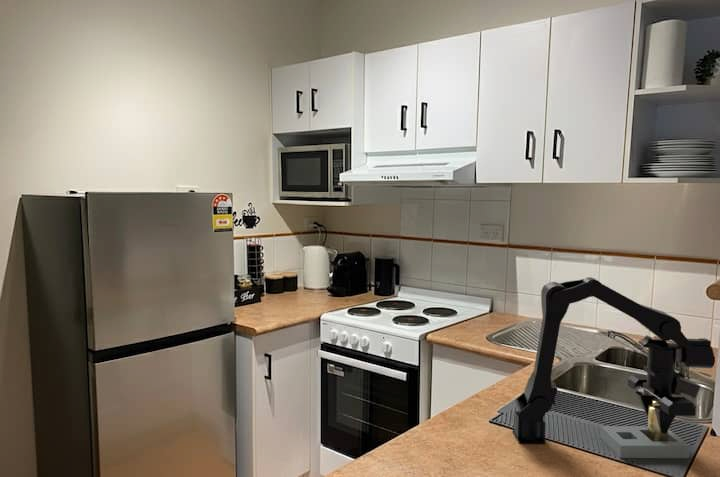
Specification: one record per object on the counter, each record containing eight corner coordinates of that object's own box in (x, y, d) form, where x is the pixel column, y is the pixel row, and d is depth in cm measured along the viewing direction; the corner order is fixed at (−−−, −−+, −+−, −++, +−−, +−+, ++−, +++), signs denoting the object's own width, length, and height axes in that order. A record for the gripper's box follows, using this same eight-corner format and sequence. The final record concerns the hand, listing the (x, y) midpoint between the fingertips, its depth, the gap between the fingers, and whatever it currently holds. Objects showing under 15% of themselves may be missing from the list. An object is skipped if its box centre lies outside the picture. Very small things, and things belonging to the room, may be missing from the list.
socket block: (620, 458, 118) (620, 445, 118) (600, 437, 128) (600, 426, 128) (689, 458, 118) (690, 445, 118) (664, 437, 128) (664, 426, 128)
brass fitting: (653, 444, 121) (655, 405, 120) (643, 435, 125) (645, 397, 124) (672, 444, 121) (674, 405, 120) (661, 435, 125) (663, 397, 124)
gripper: (722, 379, 112) (718, 447, 113) (671, 353, 131) (668, 412, 132) (671, 379, 112) (668, 447, 113) (628, 353, 131) (625, 412, 132)
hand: (658, 428), depth 123 cm, fingers closed on brass fitting, 4 cm apart
